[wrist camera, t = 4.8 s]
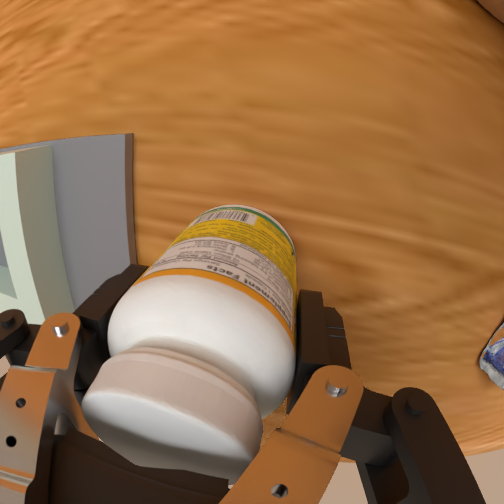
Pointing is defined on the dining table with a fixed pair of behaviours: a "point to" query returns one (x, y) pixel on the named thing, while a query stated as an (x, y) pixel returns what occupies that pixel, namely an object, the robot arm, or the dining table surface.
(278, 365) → the supplement bottle
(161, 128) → the dining table surface
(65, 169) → the socket board
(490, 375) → the snack package
